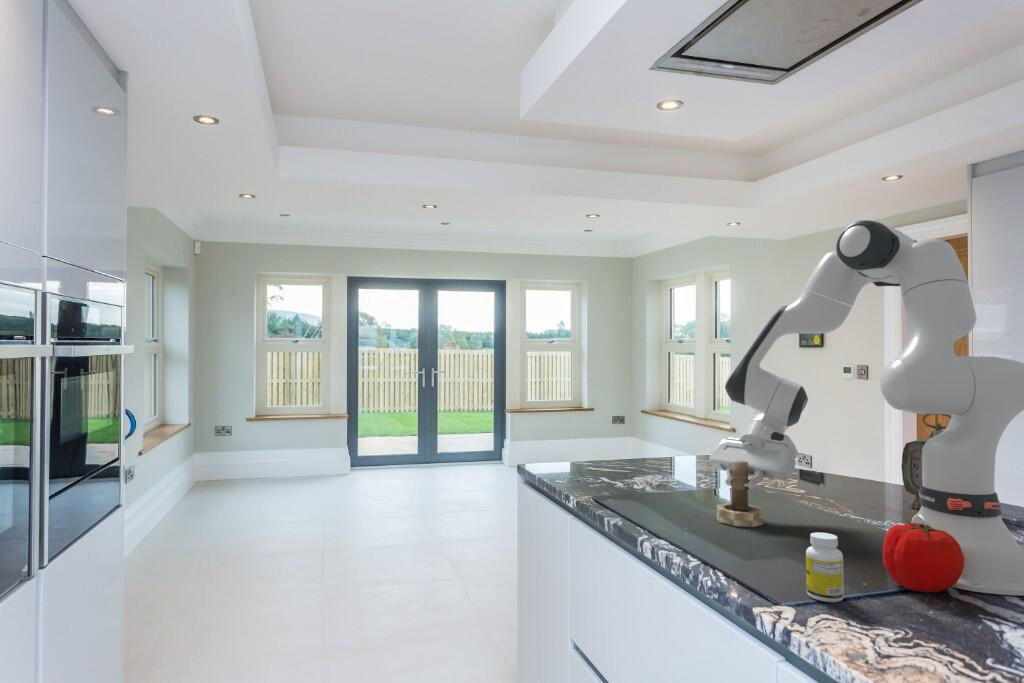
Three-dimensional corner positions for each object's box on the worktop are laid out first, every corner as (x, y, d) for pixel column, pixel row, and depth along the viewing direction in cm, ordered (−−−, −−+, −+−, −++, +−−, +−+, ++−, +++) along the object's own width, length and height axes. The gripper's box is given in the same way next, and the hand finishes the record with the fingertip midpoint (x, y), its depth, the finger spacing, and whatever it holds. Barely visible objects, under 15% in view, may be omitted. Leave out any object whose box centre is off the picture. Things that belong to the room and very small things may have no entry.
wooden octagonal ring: (766, 527, 143) (766, 514, 143) (720, 525, 145) (720, 512, 145) (758, 516, 153) (758, 504, 153) (715, 514, 155) (715, 502, 155)
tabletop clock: (901, 507, 163) (900, 411, 164) (912, 502, 169) (911, 409, 170) (969, 518, 153) (968, 415, 153) (978, 512, 159) (977, 413, 159)
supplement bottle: (811, 588, 105) (810, 529, 106) (847, 596, 102) (846, 535, 102) (802, 597, 101) (801, 536, 101) (839, 606, 98) (838, 542, 98)
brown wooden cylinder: (749, 515, 147) (749, 463, 147) (733, 514, 148) (732, 463, 148) (746, 511, 150) (746, 461, 151) (730, 510, 151) (730, 460, 151)
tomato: (882, 572, 113) (882, 510, 113) (961, 585, 107) (960, 519, 107) (882, 594, 103) (881, 525, 103) (968, 608, 97) (967, 535, 97)
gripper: (718, 428, 162) (695, 471, 155) (795, 437, 146) (773, 484, 139) (728, 444, 164) (705, 487, 158) (805, 454, 148) (784, 502, 142)
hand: (738, 486), depth 149 cm, fingers closed on brown wooden cylinder, 4 cm apart
